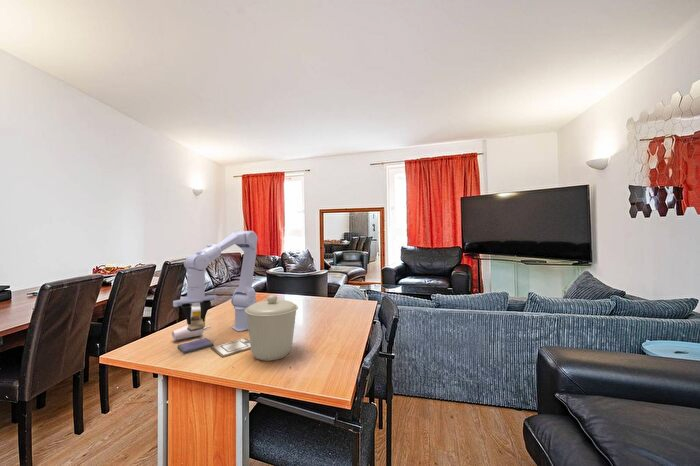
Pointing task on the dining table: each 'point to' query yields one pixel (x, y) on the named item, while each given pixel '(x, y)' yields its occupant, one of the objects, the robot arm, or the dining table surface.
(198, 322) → the stamp
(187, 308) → the robot arm
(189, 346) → the ink tray
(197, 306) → the supplement bottle
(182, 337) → the smoothie
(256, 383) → the dining table surface
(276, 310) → the canister
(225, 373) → the dining table surface
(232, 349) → the clipboard
